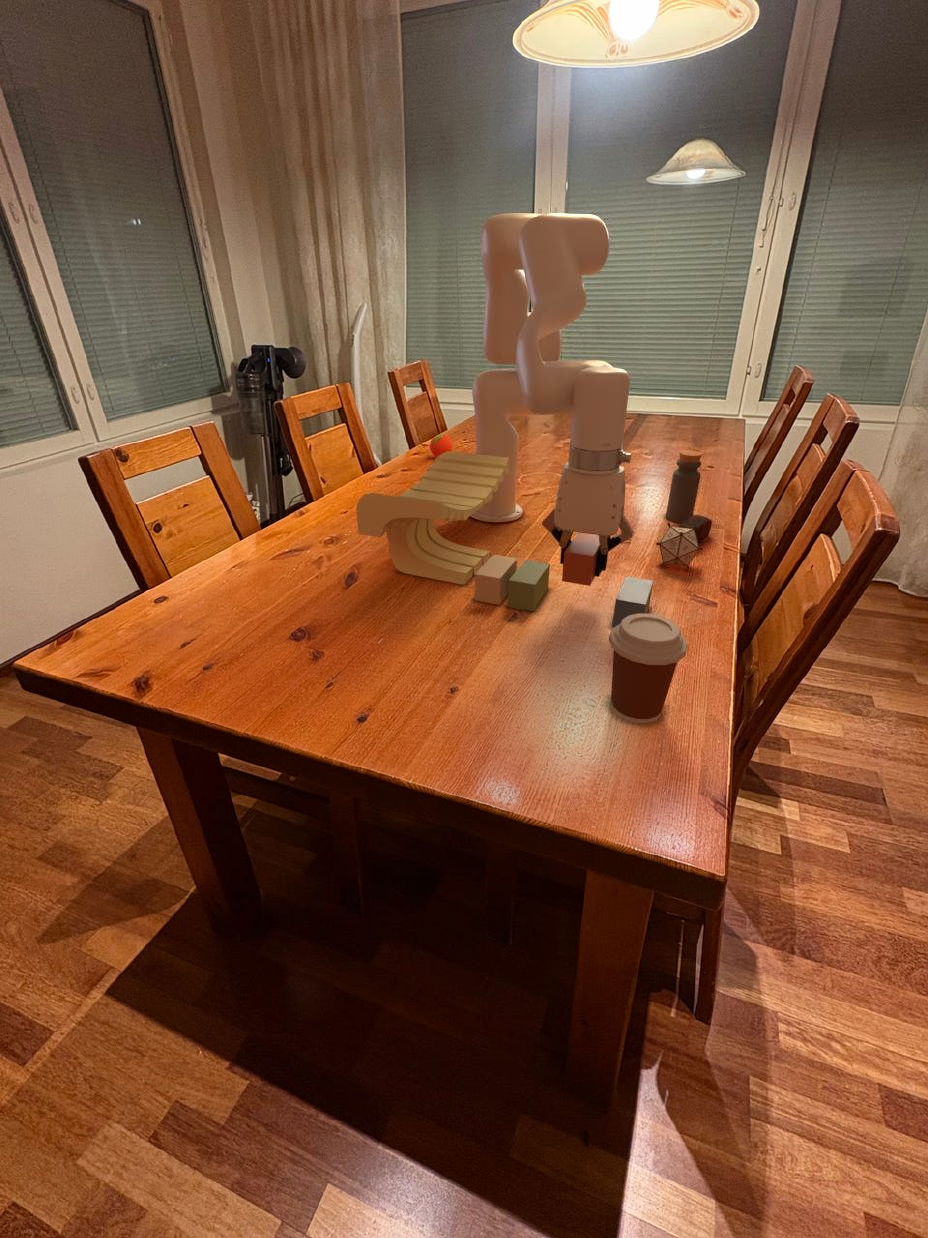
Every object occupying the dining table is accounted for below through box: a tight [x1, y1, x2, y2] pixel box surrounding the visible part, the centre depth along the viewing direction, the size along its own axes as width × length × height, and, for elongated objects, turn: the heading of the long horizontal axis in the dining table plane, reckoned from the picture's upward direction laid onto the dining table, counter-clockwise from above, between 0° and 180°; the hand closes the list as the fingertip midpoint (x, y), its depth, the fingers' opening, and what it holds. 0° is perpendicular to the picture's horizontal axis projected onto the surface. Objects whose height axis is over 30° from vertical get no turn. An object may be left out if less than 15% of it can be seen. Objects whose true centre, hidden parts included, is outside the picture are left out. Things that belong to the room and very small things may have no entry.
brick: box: [676, 514, 713, 545], centre depth 126 cm, size 11×4×5 cm, turn 141°
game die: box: [655, 522, 704, 571], centre depth 114 cm, size 9×8×10 cm
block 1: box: [474, 554, 518, 606], centre depth 105 cm, size 4×9×5 cm, turn 157°
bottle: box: [665, 450, 703, 523], centre depth 136 cm, size 6×6×15 cm
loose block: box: [561, 532, 600, 587], centre depth 97 cm, size 4×9×5 cm, turn 157°
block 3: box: [611, 576, 654, 628], centre depth 97 cm, size 4×9×5 cm, turn 157°
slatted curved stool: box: [355, 450, 509, 586], centre depth 112 cm, size 30×16×18 cm, turn 156°
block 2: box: [507, 559, 551, 612], centre depth 103 cm, size 4×9×5 cm, turn 157°
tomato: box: [429, 434, 453, 458], centre depth 184 cm, size 8×7×7 cm
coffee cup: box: [608, 613, 688, 724], centre depth 75 cm, size 9×9×12 cm
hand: (582, 569), depth 98 cm, fingers closed on loose block, 4 cm apart
